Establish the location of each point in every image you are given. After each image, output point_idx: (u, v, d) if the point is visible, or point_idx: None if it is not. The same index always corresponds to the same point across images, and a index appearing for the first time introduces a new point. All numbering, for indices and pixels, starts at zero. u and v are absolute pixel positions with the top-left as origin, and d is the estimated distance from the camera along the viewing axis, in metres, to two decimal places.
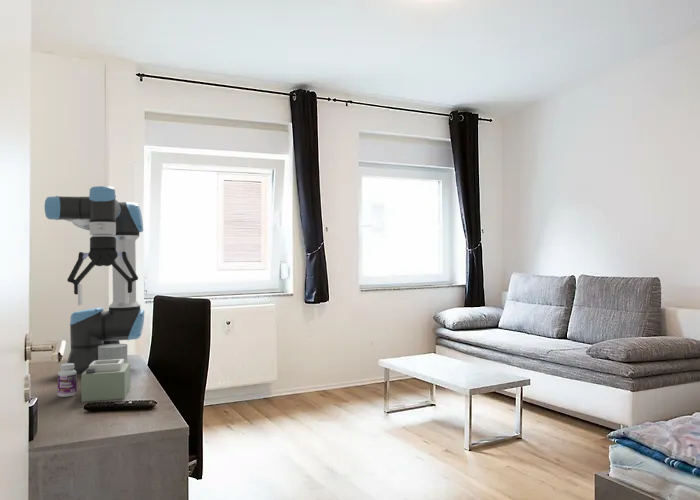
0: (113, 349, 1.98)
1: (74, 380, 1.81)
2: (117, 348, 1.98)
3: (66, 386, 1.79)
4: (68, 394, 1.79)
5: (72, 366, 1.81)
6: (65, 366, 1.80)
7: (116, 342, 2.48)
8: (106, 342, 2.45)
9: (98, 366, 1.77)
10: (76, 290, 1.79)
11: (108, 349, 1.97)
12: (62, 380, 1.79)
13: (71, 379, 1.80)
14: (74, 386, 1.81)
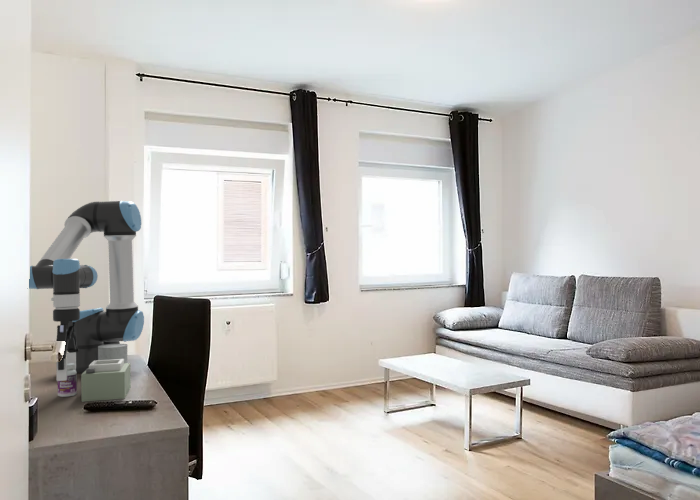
0: (113, 349, 1.98)
1: (74, 380, 1.81)
2: (117, 348, 1.98)
3: (66, 386, 1.79)
4: (68, 394, 1.79)
5: (72, 366, 1.81)
6: None
7: (116, 342, 2.48)
8: (106, 342, 2.45)
9: (98, 366, 1.77)
10: None
11: (108, 349, 1.97)
12: None
13: (71, 379, 1.80)
14: (74, 386, 1.81)
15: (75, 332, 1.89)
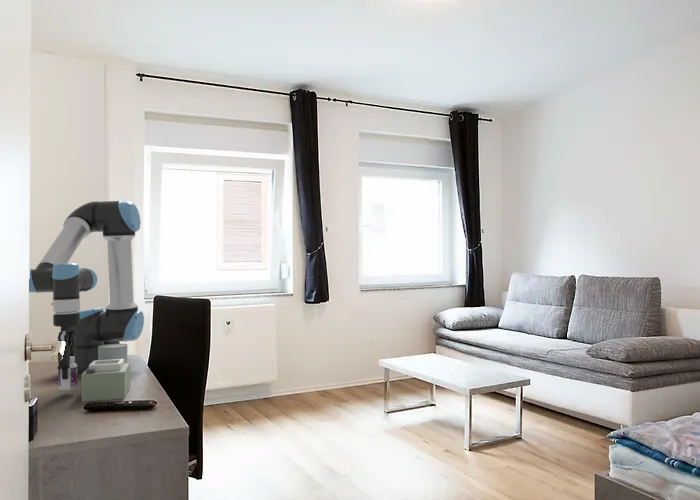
0: (113, 349, 1.98)
1: (74, 373, 1.81)
2: (117, 348, 1.98)
3: None
4: None
5: (72, 359, 1.81)
6: None
7: (116, 342, 2.48)
8: (106, 342, 2.45)
9: (98, 366, 1.77)
10: None
11: (108, 349, 1.97)
12: None
13: (71, 372, 1.80)
14: (74, 379, 1.81)
15: (75, 341, 1.88)
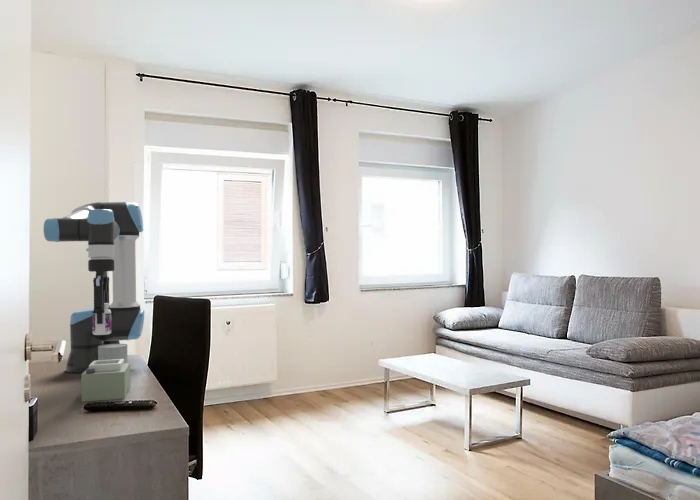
0: (113, 349, 1.98)
1: (109, 319, 1.81)
2: (117, 348, 1.98)
3: None
4: None
5: (107, 305, 1.81)
6: None
7: (116, 342, 2.48)
8: (106, 342, 2.45)
9: (98, 366, 1.77)
10: None
11: (108, 349, 1.97)
12: None
13: (106, 317, 1.80)
14: (108, 325, 1.81)
15: (108, 289, 1.88)
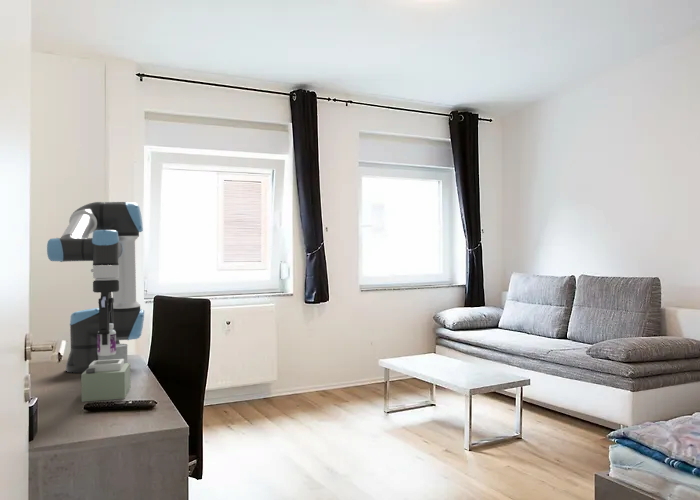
0: None
1: (114, 340, 1.81)
2: (117, 348, 1.98)
3: None
4: None
5: (111, 326, 1.81)
6: None
7: (116, 342, 2.48)
8: None
9: (98, 366, 1.77)
10: None
11: None
12: None
13: (111, 338, 1.80)
14: (113, 346, 1.81)
15: None
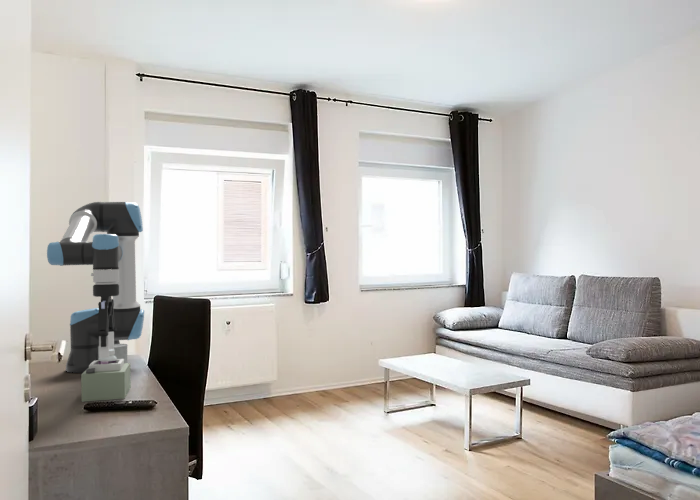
0: None
1: None
2: (117, 348, 1.98)
3: None
4: None
5: (113, 352, 1.82)
6: None
7: (116, 342, 2.48)
8: None
9: (98, 366, 1.77)
10: None
11: None
12: None
13: None
14: None
15: None
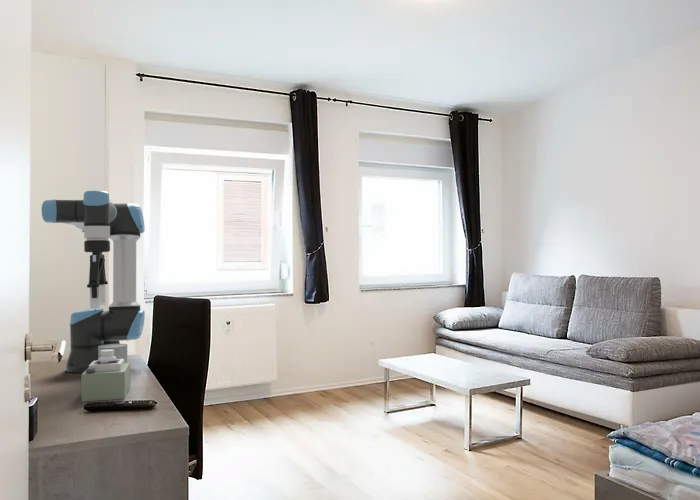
0: (113, 349, 1.98)
1: None
2: (117, 348, 1.98)
3: None
4: None
5: (112, 352, 1.81)
6: (105, 352, 1.80)
7: (116, 342, 2.48)
8: (106, 342, 2.45)
9: (98, 366, 1.77)
10: None
11: None
12: None
13: None
14: None
15: None
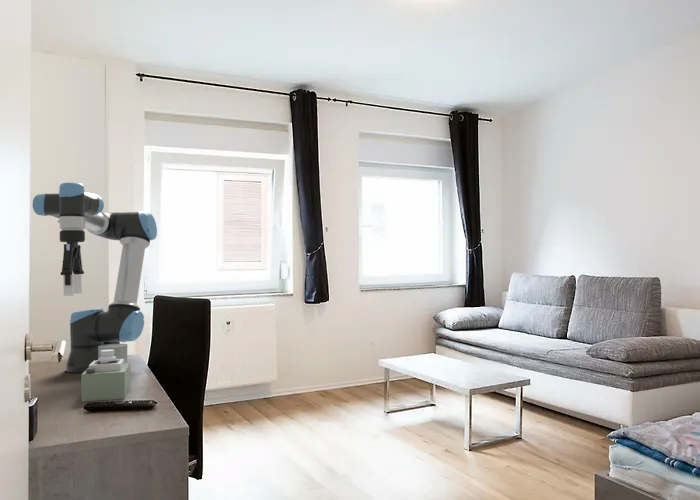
0: (113, 349, 1.98)
1: None
2: (117, 348, 1.98)
3: None
4: None
5: (112, 352, 1.81)
6: (105, 352, 1.80)
7: (116, 342, 2.48)
8: (106, 342, 2.45)
9: (98, 366, 1.77)
10: None
11: None
12: None
13: None
14: None
15: (80, 255, 1.99)
